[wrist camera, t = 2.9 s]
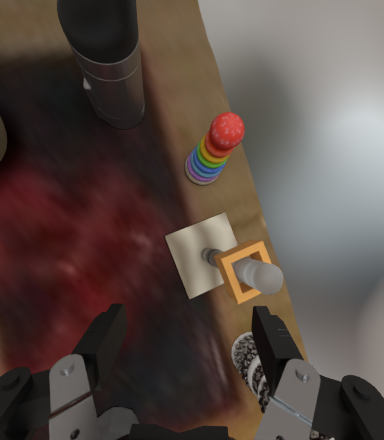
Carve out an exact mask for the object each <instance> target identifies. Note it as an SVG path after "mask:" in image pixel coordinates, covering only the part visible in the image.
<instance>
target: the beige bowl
mask: <svg viewBox="0 0 384 440" xmlns="http://www.w3.org/2000/svg"><path fill="white" fill-rule="evenodd" d="M6 148H7V134H6V130H5V126H4V123H3V121H2V119H1V117H0V161H1V160H2V158H3V156H4V154H5V152H6Z"/></svg>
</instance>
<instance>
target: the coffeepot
mask: <svg viewBox="0 0 384 440" xmlns="http://www.w3.org/2000/svg"><path fill="white" fill-rule="evenodd" d="M97 419H98V424H99V428H100V433H101V437H102V440H116V439H118V438H120V437H122V436H124V435H126V434H129V433H130V429H131V425H132V424H140V423H139V421H138V419H137V417H136V415H135V414H134V413H133V411H132V410H131V409H128V408H125V407H113V408H111V409H109V410H107V411H106V412H104V413H103V414H102V415H101V416H100V417H98V418H97Z"/></svg>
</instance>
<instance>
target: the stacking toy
mask: <svg viewBox="0 0 384 440" xmlns="http://www.w3.org/2000/svg"><path fill="white" fill-rule="evenodd" d="M243 136H244V124H243V121H242V120H241V118H240V117H239V116H238V115H236V114H234V113H230V112H226V113H222V114H220V115H218V116H217V117H216V118H215V119H214V120H213V122H212V124H211V126H210V130H209V131H208V133H207V134H206V135H205V136H204V137H203V138H202V140H201V141H200V142H199V144H198V145H197V146H196V148H195V149H194V150H193V151H192V152H191V153H190V154H189V156H188V157H187V159H186V162H185V171H186V174H187V176H188V177H189V179H190V180H191V181H193V182H194V183H196V184H199V185H207V184H210V183H212V182H214V181H215V180H216V179H217V177H218V176H219V174H220V172H221V171H222V169H223V167H224V166H225V164H226V161H227V159H228V157H229V155H230V153H231V152H232V151H233V149H234V147H236V146H237V145H238V144H239V143H240V142H241V140H242V138H243Z"/></svg>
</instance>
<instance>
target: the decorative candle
mask: <svg viewBox="0 0 384 440" xmlns="http://www.w3.org/2000/svg"><path fill="white" fill-rule="evenodd" d="M231 357H232V360H233V363H234V365H235V366H236V369H239V374H243V375H242V378H243V380H244V381H246V385H247V386H248V387H250V390H251V391H252V392H253V393H254V394H255V395H256V396H257V397H258V401H259V405H260V407H261V411H262V413H265V410H266V408H267V405H268V403H269V401H270V398H271V397H272V396H271V394H270V391H269V388H268V385H267V381H266V378H265V375H264V372H263V369H262V366H261V362H260V359H259V356H258V353H257V350H256V346H255V343H254V340H253V336H252V332H246V333H244V334H242V335H240V336H239V337H238V338H237V339H236V340H235V341H234V344H233V346H232V349H231ZM273 397H274V396H273ZM309 440H335V439H334V438H332V437H329V436H327V435H324V434H322V433H319V432H317V431H314V430H312V429H311V432H310V437H309Z"/></svg>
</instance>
